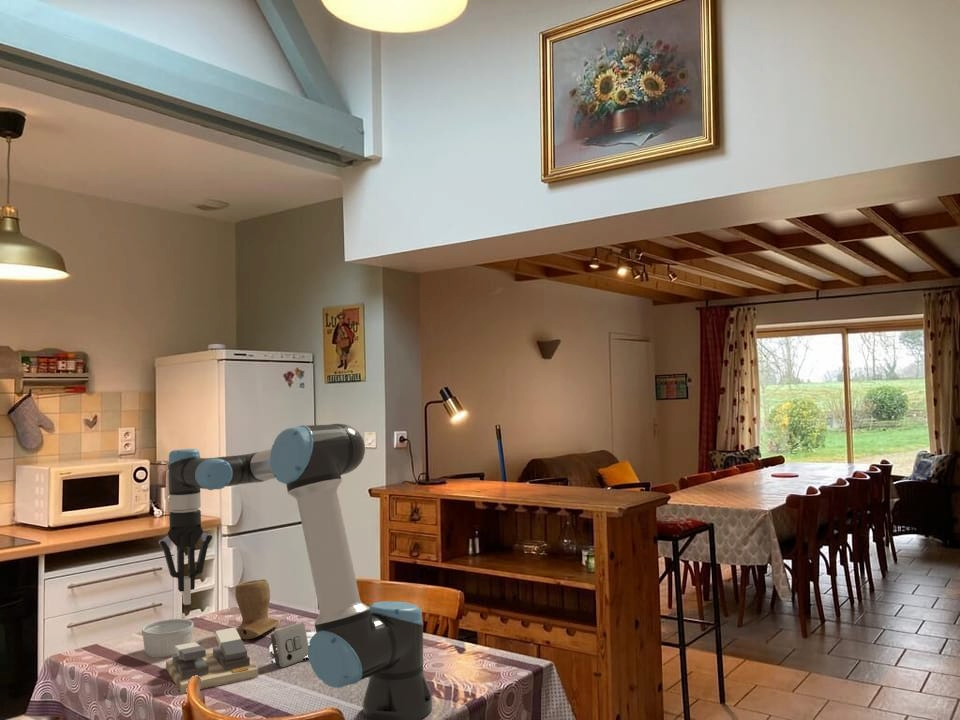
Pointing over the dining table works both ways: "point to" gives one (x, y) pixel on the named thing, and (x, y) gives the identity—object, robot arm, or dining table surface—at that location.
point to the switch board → (210, 670)
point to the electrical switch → (290, 644)
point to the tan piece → (254, 608)
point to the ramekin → (166, 636)
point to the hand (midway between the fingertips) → (186, 603)
